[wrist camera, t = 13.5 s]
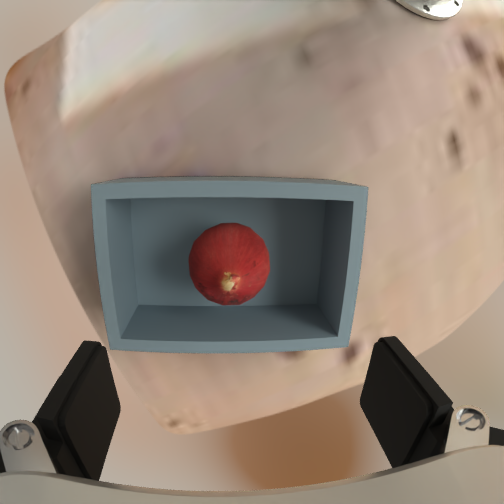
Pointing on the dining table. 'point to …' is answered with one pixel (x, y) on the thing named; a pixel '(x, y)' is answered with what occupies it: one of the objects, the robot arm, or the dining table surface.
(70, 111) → the dining table surface
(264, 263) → the red round fruit
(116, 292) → the blue-grey open box
